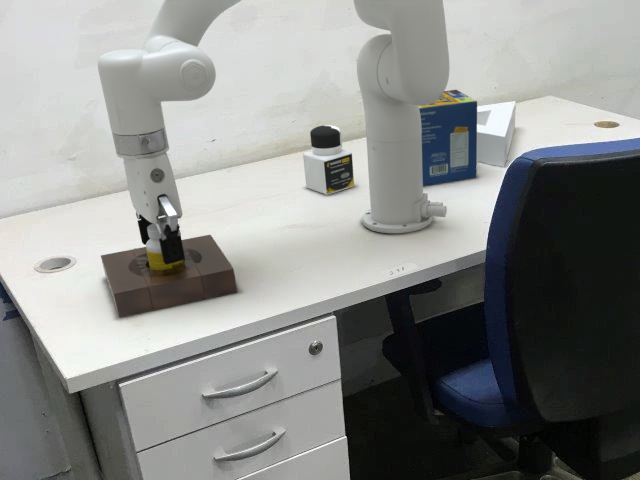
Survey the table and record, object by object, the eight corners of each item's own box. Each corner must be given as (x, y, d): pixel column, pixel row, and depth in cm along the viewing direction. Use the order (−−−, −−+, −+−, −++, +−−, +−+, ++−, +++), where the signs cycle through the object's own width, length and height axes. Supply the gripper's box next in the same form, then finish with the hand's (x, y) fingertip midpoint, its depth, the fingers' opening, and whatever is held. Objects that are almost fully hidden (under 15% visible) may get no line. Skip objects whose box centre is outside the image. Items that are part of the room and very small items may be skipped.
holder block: (214, 256, 143) (210, 234, 141) (237, 292, 130) (233, 268, 128) (106, 278, 137) (100, 255, 135) (119, 317, 125) (113, 293, 122)
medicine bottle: (327, 195, 166) (321, 134, 160) (305, 187, 171) (299, 128, 165) (354, 186, 170) (350, 126, 164) (333, 179, 175) (328, 120, 169)
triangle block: (396, 145, 194) (395, 117, 190) (464, 119, 210) (464, 93, 206) (504, 167, 176) (505, 136, 173) (569, 137, 192) (571, 109, 189)
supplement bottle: (180, 292, 131) (168, 233, 126) (148, 291, 132) (135, 232, 127) (193, 278, 136) (183, 220, 130) (162, 276, 137) (150, 219, 131)
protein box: (389, 174, 176) (386, 98, 168) (458, 164, 179) (458, 88, 171) (406, 189, 167) (403, 109, 159) (477, 178, 171) (478, 99, 163)
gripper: (187, 149, 117) (207, 263, 126) (146, 125, 130) (166, 230, 139) (135, 160, 114) (159, 276, 123) (98, 134, 126) (122, 241, 135)
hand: (163, 251), depth 131 cm, fingers open, 9 cm apart
